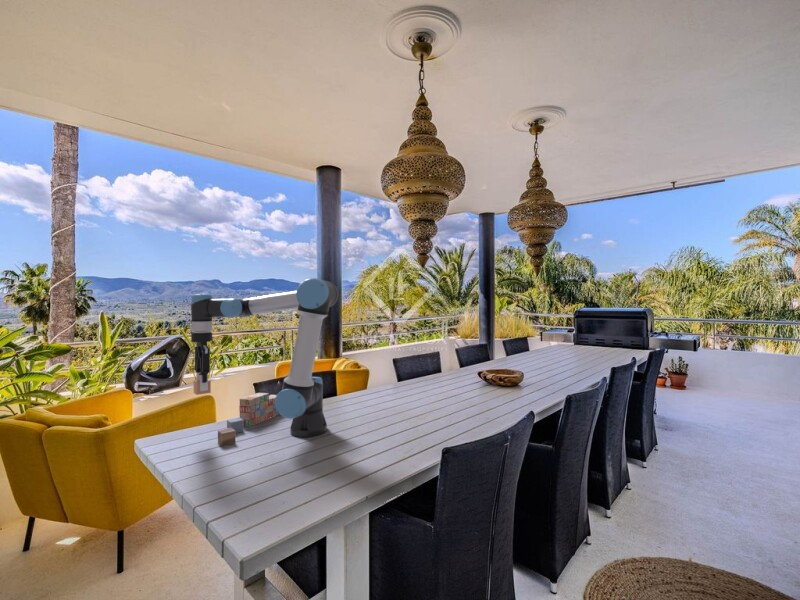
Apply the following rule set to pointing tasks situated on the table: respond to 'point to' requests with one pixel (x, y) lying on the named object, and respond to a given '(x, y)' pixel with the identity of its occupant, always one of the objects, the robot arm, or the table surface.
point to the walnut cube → (226, 437)
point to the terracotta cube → (197, 387)
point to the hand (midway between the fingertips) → (202, 389)
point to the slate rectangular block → (235, 424)
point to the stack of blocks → (257, 408)
